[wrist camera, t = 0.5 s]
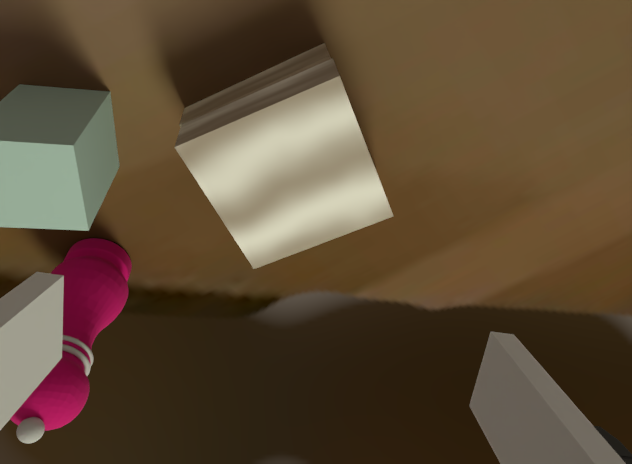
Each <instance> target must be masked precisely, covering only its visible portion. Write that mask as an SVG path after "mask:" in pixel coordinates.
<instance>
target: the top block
mask: <svg viewBox="0 0 632 464" xmlns="http://www.w3.org/2000/svg"><path fill="white" fill-rule="evenodd" d="M175 149H176V150H177V152H178V153H179V155H180V156H181V158H182V159H183V161H184V162H185V164H186V165H187V167H188V169H189V170H190V172H191V173H192V175H193V176H194V178H195V179H196V181H197V182H198V184H199V185H200V187H201V189H202V190H203V192H204V193H205V195H206V196H207V198H208V199H209V201H210V202H211V204H212V205H213V207H214V208H215V210H216V212H217V213H218V215H219V216H220V218H221V219H222V221H223V222H224V224H225V225H226V227H227V228H228V230H229V231H230V233H231V235H232V236H233V238H234V239H235V241H236V242H237V244H238V245H239V247H240V248H241V250H242V251H243V253H244V255H245V256H246V258H247V259H248V261H249V262H250V264H251V265H252V267H253V268H254V269H255V268H258V267H261V266H263V265H266V264H269V263H271V262H274V261H277V260H279V259H282V258H285V257H287V256H290V255H292V254H295V253H298V252H300V251H303V250H306V249H308V248H311V247H314V246H316V245H319V244H321V243H324V242H327V241H329V240H332V239H335V238H337V237H340V236H343V235H345V234H348V233H350V232H353V231H356V230H358V229H361V228H364V227H366V226H369V225H372V224H374V223H377V222H380V221H382V220H385V219H387V218H390V217H393V214H392V211H391V208H390V206H389V203H388V200H387V198H386V195H385V193H384V190H383V187H382V185H381V182H380V180H379V177H378V174H377V172H376V169H375V167H374V164H373V161H372V159H371V156H370V154H369V151H368V148H367V146H366V143H365V141H364V138H363V135H362V133H361V130H360V128H359V125H358V122H357V120H356V117H355V115H354V112H353V109H352V107H351V104H350V101H349V99H348V96H347V94H346V91H345V88H344V86H343V83H342V81H341V78H340V75H339V73H338V70H337V68H336V65H335V62H334V60H333V58H332V59H330V60H328V61H325V62H323V63H321V64H319V65H316V66H314V67H312V68H309V69H307V70H305V71H303V72H300V73H298V74H296V75H294V76H291V77H289V78H287V79H284V80H282V81H280V82H278V83H275V84H273V85H271V86H269V87H266V88H264V89H262V90H259V91H257V92H255V93H253V94H250V95H248V96H246V97H244V98H241V99H239V100H237V101H234V102H232V103H230V104H228V105H225V106H223V107H221V108H219V109H216V110H214V111H212V112H209V113H207V114H205V115H203V116H200V117H198V118H196V119H194V120H191V121H189V122H187V123H184V124H182V125H181V128H180V132H179V135H178V138H177V141H176V144H175Z"/></svg>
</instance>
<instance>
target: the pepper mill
mask: <svg viewBox="0 0 632 464" xmlns="http://www.w3.org/2000/svg"><path fill="white" fill-rule="evenodd" d="M131 266H132V265H131V260H130V258H129V256H128V254H127V253H126V252H125V250H124V249H122V248H121V247H120V246H119V245H117V244H115V243H113V242H111V241H108V240H105V239H98V238H89V239H84V240H81V241H79V242H77V243H75V244H74V245H73V246H72V247H71V248H70V250H69V251H68V253H67V255H66V257H65V259H64V261H63V262H62V263H61V264H59V265H58V266H57V267H56V268H55V269H54V270H53V271H52V272H51V274H56V275H64V293H63V339H62V358H61V360H60V361H59V362H58V363H57V364H56V365H55V367H54V368H53V369H52V370H51V371H50V373H49V374H48V375H47V376H46V377H45V378H44V380H43V381H42V382H41V383H40V384H39V385H38V387H37V388H36V389H35V390H34V391H33V392H32V394H31V395H30V396H29V397H28V398H27V400H26V401H25V402H24V403H23V404H22V405H21V407H20V408H19V409H18V410H17V411H16V412H15V414H14V415H13V416H12V417H11V418H10V420H11V421H13V422H14V423H15V424H17V425H19V426H18V428H17V437H18V439H19V440H20V441H22V442H23V443H33V442H35V441H37V440H39V439H40V438H41V437H42V435H43V433H44V431H45V430H52V429H56V428H60V427H62V426H63V425H65V424H67V423H69V422H71V421H72V420H73V419H74V418H75V417H76V416H77V415H78V414H79V413H80V411H81V410H82V409H83V407H84V405H85V403H86V401H87V398H88V395H89V380H88V378H87V376H88V374H89V372H90V367H91V365H92V364H93V354H92V351H91V347H92V344H93V342H94V339H95V337H96V336H97V334H98V333H99V332H100V331H101V330H102V329H104V328H105V327H106V326H107V325H109V324H110V323H111V322H112V321H113V320H114V319H115V318H116V317H117V316H118V314H119V313H120V312H121V311H122V309H123V307H124V305H125V303H126V301H127V298H128V284H127V281H128V278H129V275H130V272H131Z"/></svg>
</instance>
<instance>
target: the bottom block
mask: <svg viewBox="0 0 632 464" xmlns="http://www.w3.org/2000/svg"><path fill="white" fill-rule="evenodd" d="M330 59H331V57H330V55H329V52H328V50H327V48H326V45H325V43H323V44H321V45H319V46H317V47H315V48H312V49H310V50H308V51H306V52H304V53H302V54H300V55H297V56H295V57H293V58H291V59H289V60H287V61H285V62H282V63H280V64H278V65H276V66H274V67H272V68H269V69H267V70H265V71H263V72H261V73H259V74H257V75H254V76H252V77H250V78H248V79H246V80H244V81H241V82H239V83H237V84H235V85H233V86H231V87H229V88H226V89H224V90H222V91H220V92H218V93H216V94H214V95H211V96H209V97H207V98H205V99H203V100H201V101H198V102H196V103H194V104H192V105H190V106H188V107H186V108H185V109H184V112H183V115H182V118H181V121H180V124H179V125H180V127H181V125H182V124H184V123H187V122H189V121H191V120H194V119H196V118H198V117H200V116H203V115H205V114H207V113H209V112H212V111H214V110H216V109H219V108H221V107H223V106H225V105H228V104H230V103H232V102H234V101H237V100H239V99H241V98H244V97H246V96H248V95H250V94H253V93H255V92H257V91H259V90H262V89H264V88H266V87H269V86H271V85H273V84H275V83H278V82H280V81H282V80H284V79H287V78H289V77H291V76H294V75H296V74H298V73H300V72H303V71H305V70H307V69H309V68H312V67H314V66H316V65H319V64H321V63H323V62H325V61H328V60H330ZM374 167H375V166H374ZM376 172H377V171H376ZM378 177H379V176H378ZM379 180H380V179H379ZM381 185H382V184H381Z"/></svg>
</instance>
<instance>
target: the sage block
mask: <svg viewBox="0 0 632 464" xmlns="http://www.w3.org/2000/svg"><path fill="white" fill-rule="evenodd" d="M118 168H119V159H118V151H117V143H116V135H115V127H114V118H113V110H112V102H111V94H110V92H109V91H96V90H84V89H72V88H59V87H47V86H34V85H22V84H19V85H18V86H17V87H16V88H15V89H13V90H12V91H11V92H10V93H9V94H8V95H7V96H6V97H4V98H3V99H2V100H1V101H0V227H12V228H36V229H59V230H82V231H89V229H90V227H91V225H92V223H93V221H94V219H95V216H96V214H97V212H98V210H99V208H100V206H101V204H102V202H103V200H104V198H105V196H106V194H107V191H108V189H109V187H110V185H111V183H112V181H113V179H114V177H115V175H116V173H117V171H118Z"/></svg>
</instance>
